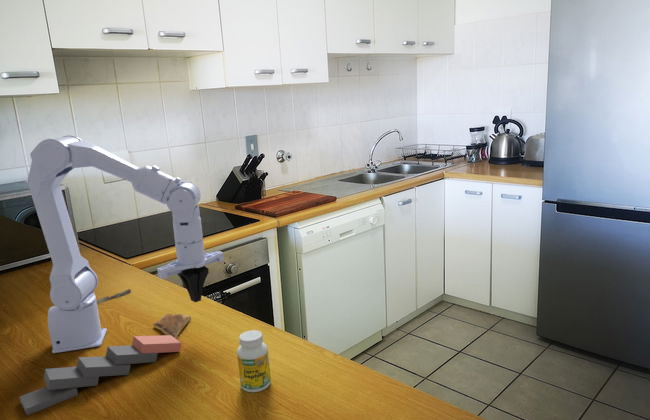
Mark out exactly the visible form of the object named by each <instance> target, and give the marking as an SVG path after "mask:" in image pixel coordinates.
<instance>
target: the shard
mask: <svg viewBox="0 0 650 420" xmlns="http://www.w3.org/2000/svg"><path fill="white" fill-rule="evenodd" d="M191 320H192V316H191V315H189V314H188V315H187V314H180V313H177V314H173V313H171V314H170V313H169V314H163V315H162V316H161V318H160V319H159V320H158V321H156V322H155V323H153V325H152V326H153V327H154V328H155V329H157V330H159V331H160V332H162V333H163V334H164V335H171V336H173V337H174V338H175V339H177V340H178V337H179V336H178V335H180V334H181V332H182V331H183V329H184V328H185V327H186V326H187V324H188V323H190V321H191ZM179 333H180V334H179Z"/></svg>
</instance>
